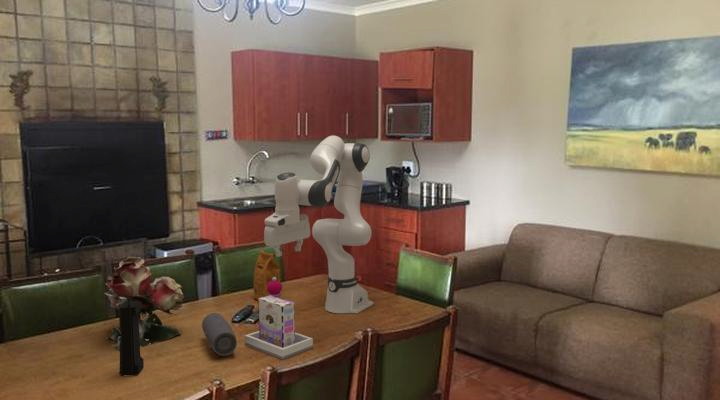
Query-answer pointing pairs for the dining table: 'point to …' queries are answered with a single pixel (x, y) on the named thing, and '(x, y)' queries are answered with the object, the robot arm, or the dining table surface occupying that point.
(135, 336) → the portable radio
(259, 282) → the coffee package
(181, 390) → the dining table surface
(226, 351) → the bluetooth speaker
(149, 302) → the rose bouquet
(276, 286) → the pepper mill
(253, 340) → the white tray
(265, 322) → the candy box
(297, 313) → the dining table surface
